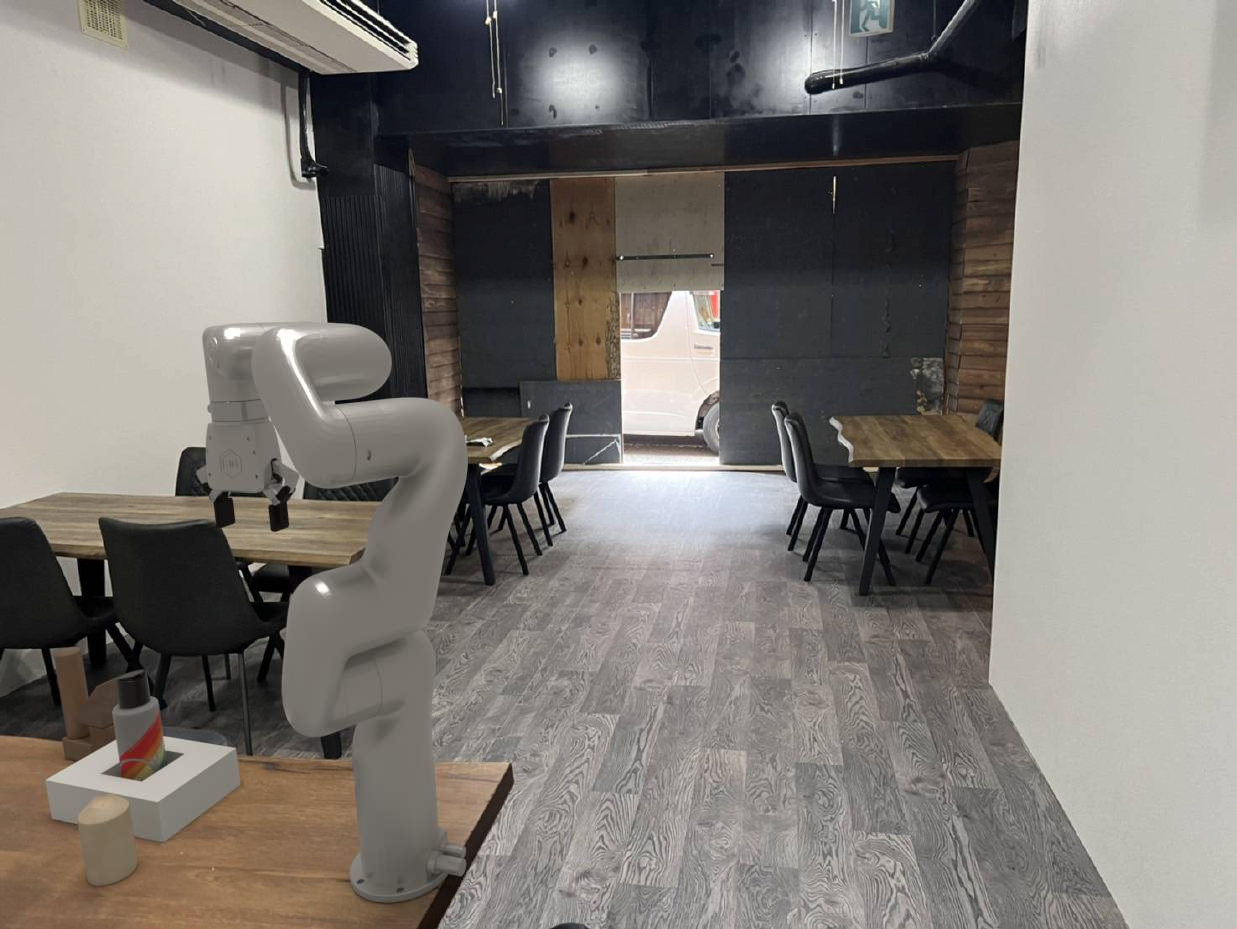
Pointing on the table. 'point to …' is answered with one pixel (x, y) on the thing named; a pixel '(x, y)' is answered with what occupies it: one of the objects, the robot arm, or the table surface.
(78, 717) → the brown block with handle
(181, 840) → the table surface
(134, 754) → the lotion bottle
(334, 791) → the table surface
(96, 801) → the candle
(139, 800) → the bottle caddy
